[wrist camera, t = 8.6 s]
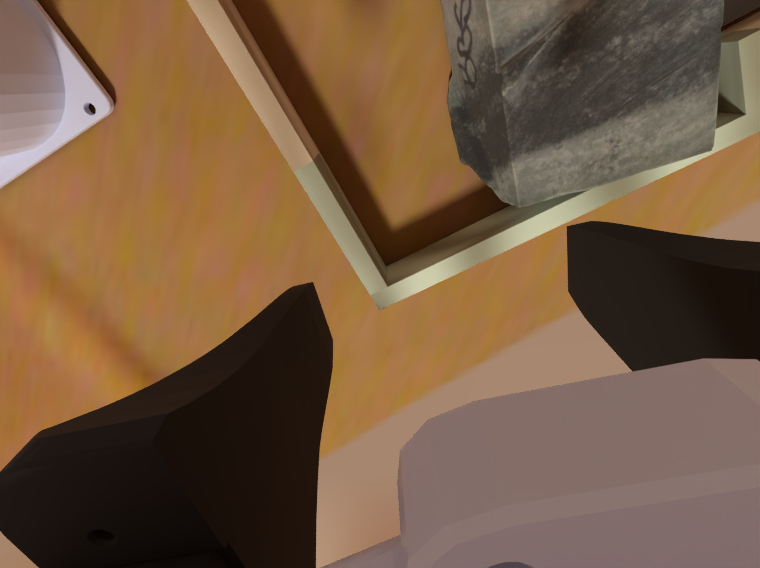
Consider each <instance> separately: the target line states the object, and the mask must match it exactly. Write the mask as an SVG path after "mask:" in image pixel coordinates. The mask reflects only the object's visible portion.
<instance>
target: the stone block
mask: <svg viewBox="0 0 760 568" xmlns="http://www.w3.org/2000/svg"><path fill="white" fill-rule="evenodd" d="M440 1H441V5H442V9H443V13H444V22H445V34H446V39H447V44H448V49H449V54H450V62H451V66H452V76H451V79H450V81H449V92H448V99H447V104H448V108H449V113H450V117H451V126H452V130H453V134H454V137H455V141H456V145H457V149H458V153H459V158H460V162H461V163H463V164H465V165H469V166H470V167H471V168H472V169H473V170H474V171H475V172H476V174H477V175H478V176H479V177H480V178H481V179H482V180H483V181H484V182H485V183H486V184H487V185H488V186H489V187H490V188H491V189H493V191H494V192H495V194H496V195H497V196H498V197H499V199H500V200H501V201H503V202H506V203H509V204H511V205H512V206H513V205H515V206H516V207H518V208H521V207H525V206H529V205H532V204H535V203H538V202H541V201H546V200H549V199H552V198H555V197H558V196H562V195H565V194H569V193H574V192H580V191H586V190H589V189H592V188H596V187H599V186H603V185H606V184H609V183H612V182H615V181H618V180H621V179H624V178H627V177H630V176H633V175H635V174H638V173H641V172H643V171H646V170H652V169H655V168H658V167H661V166H665V165H668V164H671V163H674V162H678V161H681V160H684V159H687V158H690V157H693V156H696V155H699V154H702V153H706V152H709V151H712V148H713V146H714V139H715V131H716V118H717V105H718V89H719V75H720V62H721V26H722V24H723V15H724V0H440Z"/></svg>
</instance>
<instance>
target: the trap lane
mask: <svg viewBox="0 0 760 568" xmlns="http://www.w3.org/2000/svg"><path fill="white" fill-rule="evenodd" d="M187 1H188V3H189V5H190V6H191V8H192V10H193V11H194V13H195V14H196V16H197V18H198V19H199V21H200V22H201V24H202V26H203V27H204V29H205V30H206V32H207V34H208V35H209V37H210V38H211V40H212V42H213V43H214V45H215V46H216V48H217V50H218V51H219V53H220V55H221V56H222V58H223V59H224V61H225V63H226V64H227V66H228V67H229V69H230V71H231V72H232V74H233V75H234V77H235V79H236V80H237V82H238V83H239V85H240V87H241V88H242V90H243V91H244V93H245V95H246V96H247V98H248V100H249V101H250V103H251V104H252V106H253V108H254V109H255V111H256V112H257V114H258V116H259V117H260V119H261V120H262V122H263V124H264V125H265V127H266V128H267V130H268V132H269V133H270V135H271V137H272V138H273V140H274V141H275V143H276V145H277V146H278V148H279V149H280V151H281V153H282V154H283V156H284V157H285V159H286V161H287V162H288V164H289V165H290V167H291V169H292V170H293V172H294V173H295V175H296V177H297V178H298V180H299V182H300V183H301V185H302V186H303V188H304V190H305V191H306V193H307V194H308V196H309V198H310V199H311V201H312V202H313V204H314V206H315V207H316V209H317V210H318V212H319V214H320V215H321V217H322V218H323V220H324V222H325V223H326V225H327V227H328V228H329V230H330V231H331V233H332V235H333V236H334V238H335V239H336V241H337V243H338V244H339V246H340V247H341V249H342V251H343V252H344V254H345V255H346V257H347V259H348V260H349V262H350V264H351V265H352V267H353V268H354V270H355V272H356V273H357V275H358V276H359V278H360V280H361V281H362V283H363V284H364V286H365V288H366V289H367V291H368V292H369V294H370V296H371V297H372V299H373V300H374V302H375V304H376V305H377V307H378V309H379V310H381V309H383V308H385V307H387V306H390V305H392V304H394V303H396V302H398V301H400V300H402V299H404V298H407V297H409V296H411V295H413V294H415V293H417V292H419V291H422V290H424V289H426V288H428V287H430V286H432V285H434V284H436V283H439V282H441V281H443V280H445V279H447V278H449V277H451V276H453V275H456V274H458V273H460V272H462V271H464V270H466V269H468V268H470V267H473V266H475V265H477V264H479V263H481V262H483V261H485V260H487V259H490V258H492V257H494V256H496V255H498V254H500V253H502V252H504V251H507V250H509V249H511V248H513V247H515V246H517V245H519V244H521V243H524V242H526V241H528V240H530V239H532V238H534V237H536V236H539V235H541V234H543V233H545V232H547V231H549V230H551V229H553V228H556V227H558V226H560V225H562V224H564V223H566V222H568V221H570V220H573V219H575V218H577V217H579V216H581V215H583V214H585V213H587V212H590V211H592V210H594V209H596V208H598V207H600V206H602V205H604V204H607V203H609V202H611V201H613V200H615V199H617V198H619V197H621V196H624V195H626V194H628V193H630V192H632V191H634V190H636V189H638V188H641V187H643V186H645V185H647V184H649V183H651V182H653V181H655V180H658V179H660V178H662V177H664V176H666V175H668V174H670V173H673V172H675V171H677V170H679V169H681V168H683V167H685V166H687V165H690V164H692V163H694V162H696V161H698V160H700V159H702V158H704V157H707V156H709V155H711V154H713V153H715V152H717V151H719V150H721V149H724V148H726V147H728V146H730V145H732V144H734V143H736V142H738V141H741V140H743V139H745V138H747V137H749V136H751V135H753V134H755V133H758V132H760V11H759V12H757V13H755V14H753V15H751V16H749V17H747V18H745V19H743V20H741V21H739V22H738V23H736V24H734V25H732V26H730V27H728V28H726V29H724V30H722V31H721V62H720V75H719V89H718V105H717V118H716V131H715V139H714V146H713V148H712V151H709V152H706V153H702V154H699V155H696V156H693V157H690V158H687V159H684V160H681V161H678V162H674V163H671V164H668V165H665V166H661V167H658V168H655V169H652V170H646V171H643V172H641V173H638V174H635V175H633V176H630V177H627V178H624V179H621V180H618V181H615V182H612V183H609V184H606V185H603V186H599V187H596V188H592V189H589V190H586V191H580V192H574V193H569V194H565V195H562V196H558V197H555V198H552V199H549V200H546V201H541V202H538V203H535V204H532V205H529V206H525V207H521V208H518V207H516V206H515V205H513V206H512V205H510V206H508V207H506V208H504V209H502V210H500V211H498V212H496V213H494V214H492V215H490V216H488V217H486V218H484V219H482V220H480V221H478V222H476V223H474V224H471V225H469V226H467V227H465V228H463V229H461V230H459V231H457V232H455V233H453V234H451V235H449V236H447V237H445V238H443V239H441V240H439V241H437V242H435V243H433V244H431V245H429V246H427V247H425V248H423V249H421V250H419V251H417V252H415V253H413V254H411V255H409V256H407V257H405V258H402V259H400V260H398V261H396V262H394V263H392V264H390V265H388V266H386V265H385V264H384V262H383V260H382V258H381V257H380V255H379V253H378V252H377V250H376V248H375V246H374V245H373V243H372V241H371V240H370V238H369V236H368V234H367V233H366V231H365V229H364V227H363V226H362V224H361V222H360V221H359V219H358V217H357V215H356V214H355V212H354V210H353V208H352V207H351V205H350V203H349V202H348V200H347V198H346V196H345V195H344V193H343V191H342V189H341V188H340V186H339V184H338V183H337V181H336V179H335V177H334V176H333V174H332V172H331V171H330V169H329V167H328V165H327V164H326V162H325V160H324V158H323V157H322V155H321V153H320V152H319V150H318V148H317V146H316V145H315V143H314V141H313V139H312V138H311V136H310V134H309V133H308V131H307V129H306V127H305V126H304V124H303V122H302V120H301V119H300V117H299V115H298V114H297V112H296V110H295V108H294V107H293V105H292V103H291V102H290V100H289V98H288V96H287V95H286V93H285V91H284V89H283V88H282V86H281V84H280V83H279V81H278V79H277V77H276V76H275V74H274V72H273V70H272V69H271V67H270V65H269V64H268V62H267V60H266V58H265V57H264V55H263V53H262V51H261V50H260V48H259V46H258V45H257V43H256V41H255V39H254V38H253V36H252V34H251V33H250V31H249V29H248V27H247V26H246V24H245V22H244V20H243V19H242V17H241V15H240V14H239V12H238V10H237V8H236V7H235V5H234V3H233V1H232V0H187Z"/></svg>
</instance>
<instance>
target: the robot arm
mask: <svg viewBox="0 0 760 568" xmlns="http://www.w3.org/2000/svg"><path fill="white" fill-rule="evenodd" d="M90 103H91V104H92V105H94V107H95V109H96V113H95V114H93V113H92V112H91V111H90V109H89V104H90ZM113 109H114V103H113V100H112V98H111V97H110V95H109V94H108V93H107V92H106V90H105V89H104V88H103V86H102V85H101V84H100V82H99V81H98V80H97V78H96V77H95V76H94V74H93V73H92V72H91V71H90V69H89V68H88V67H87V65H86V64H85V63H84V61H83V60H82V59H81V57H80V56H79V55H78V54H77V52H76V51H75V50H74V48H73V47H72V46H71V44H70V43H69V42H68V40H67V39H66V38H65V36H64V35H63V34H62V33H61V31H60V30H59V29H58V27H57V26H56V25H55V23H54V22H53V21H52V19H51V18H50V17H49V15H48V14H47V13H46V12H45V10H44V9H43V8H42V6H41V5H40V4H39V2H38V1H37V0H0V189H1V188H2V187H4V186H5V185H6V184H8V183H9V182H11V181H12V180H14V179H15V178H17V177H18V176H20V175H21V174H23V173H24V172H26V171H27V170H28V169H30V168H31V167H33V166H34V165H36V164H37V163H39V162H40V161H42V160H43V159H45V158H46V157H47V156H49V155H50V154H52V153H53V152H55V151H56V150H58V149H59V148H61V147H62V146H64V145H65V144H67V143H68V142H69V141H71V140H72V139H74V138H75V137H77V136H78V135H80V134H81V133H83V132H84V131H86V130H87V129H89V128H90V127H91V126H93V125H94V124H96V123H97V122H99V121H100V120H102V119H103V118H105V117H106V116H108V115H109V114H110V113H111V112H112V111H113ZM567 255H568V292H569V293H570V295H571V297H572V298H573V300H574V302H575V303H576V305H577V306H578V308H579V310H580V311H581V313H582V314H583V315H584V317H585V318H586V319H587V321H588V322H589V323H590V324H591V325H592V327H593V328H594V329H595V330H596V331H597V332H598V333H599V335H600V336H601V337H602V338H603V339H604V340H605V341H606V342H607V343H608V345H609V346H610V347H611V348H612V349H613V350H614V351H615V352H616V353H617V355H618V356H619V357H620V358H621V359H622V360H623V361H624V362H625V363H626V365H627V366H628V367H629V368H630V369H631V370H632V371H633V372H628V373H623V374H618V375H613V376H607V377H601V378H596V379H590V380H585V381H580V382H575V383H570V384H564V385H558V386H553V387H547V388H542V389H537V390H531V391H526V392H521V393H515V394H510V395H505V396H499V397H494V398H489V399H483V400H478V401H473V402H471V403H468V404H466V405H463V406H461V407H458V408H456V409H453V410H451V411H448V412H446V413H443V414H441V415H438V416H436V417H433V418H431V419H428V420H427V421H426V422H425V423H424V424H423V425H422V427H421V428H420V429H419V430H418V431H417V432H416V433H415V434H414V435H413V437H412V438H411V439H410V440H409V441H408V442H407V443H406V444H405V445H404V447H403V448H402V449H401V450H400V457H399V470H398V499H399V513H400V514H399V515H400V531H401V535H399V536H396V537H394V538H392V539H389V540H387V541H385V542H382V543H379V544H377V545H375V546H372V547H370V548H367V549H365V550H362V551H360V552H358V553H355V554H353V555H350V556H348V557H345V558H343V559H341V560H338V561H336V562H334V563H331V564H329V565H326V566H324V567H321V568H760V242H751V241H750V242H749V241H736V240H725V239H715V238H707V237H699V236H691V235H684V234H677V233H670V232H664V231H658V230H652V229H646V228H641V227H635V226H629V225H623V224H616V223H609V222H599V221H589V222H585V223H580V224H575V225H571V226H567ZM332 367H333V339H332V336H331V333H330V330H329V327H328V324H327V321H326V318H325V315H324V313H323V310H322V307H321V304H320V301H319V298H318V295H317V292H316V289H315V286H314V284H313V282H311V283H306V284H302V285H297V286H293V287H291V288H289V289H288V290H286V291H285V292H284V293H283V294H281V295H280V296H279V297H278V298H276V299H275V300H274V301H273V302H272V303H271V304H270V305H268V306H267V307H266V308H265V309H264V310H263V311H261V312H260V313H259V314H258V315H257V316H256V317H254V318H253V319H252V320H251V321H250V322H248V323H247V324H246V325H244V326H243V327H242V328H241V329H239V330H238V331H237V332H236V333H234V334H233V335H232V336H231V337H229V338H228V339H227V340H225V341H224V342H223V343H221V344H220V345H218V346H217V347H215V348H214V349H213V350H211V351H209V352H208V353H206V354H205V355H203V356H202V357H200V358H199V359H197V360H195V361H194V362H192V363H191V364H189V365H187V366H185V367H183V368H182V369H180V370H178V371H176V372H174V373H173V374H171V375H169V376H167V377H165V378H164V379H162V380H160V381H158V382H156V383H154V384H152V385H150V386H148V387H146V388H144V389H142V390H140V391H138V392H136V393H134V394H131V395H129V396H127V397H125V398H123V399H120V400H118V401H116V402H114V403H111V404H109V405H107V406H104V407H102V408H100V409H97V410H94V411H92V412H89V413H87V414H84V415H81V416H79V417H76V418H74V419H71V420H68V421H66V422H63V423H61V424H58V425H55V426H53V427H50V428H47V429H44V430H42V431H40V432H39V433H38V434H36V435H35V436H34V437H33V438H32V439H31V440H30V441H29V442H28V443H27V444H26V445H25V446H24V447H23V449H22V450H21V451H20V452H19V453H18V454H17V455H16V456H15V457H14V458H13V459H12V460H11V461H10V462H9V463H8V464H7V465H6V466H5V467H4V468H3V470H2V471H1V472H0V531H1V532H2V533H3V535H4V536H5V537H6V538H7V539H9V540H10V541H11V542H12V543H13V544H14V545H15V546H16V547H17V548H18V549H19V550H20V551H22V552H23V553H24V554H25V555H26V556H27V557H28V558H29V559H30V560H31V561H32V562H33V563H34V564H36V565H37V566H38V567H39V568H316V512H317V485H318V466H319V449H320V441H321V433H322V427H323V421H324V415H325V410H326V404H327V398H328V392H329V387H330V380H331V374H332Z"/></svg>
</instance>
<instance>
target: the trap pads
mask: <svg viewBox="0 0 760 568" xmlns="http://www.w3.org/2000/svg"><path fill="white" fill-rule="evenodd" d="M759 7H760V0H724V15H723V24H722V26H721V27H723V26H725V25H727V24H729V23H730V22H732V21H734V20H736V19H738V18H740V17H742V16H744V15H746V14H748V13H749V12H751V11H753V10H755V9H757V8H759Z"/></svg>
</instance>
